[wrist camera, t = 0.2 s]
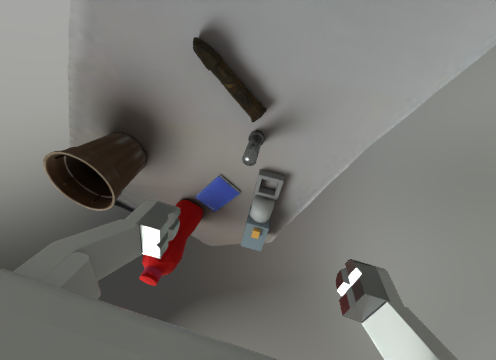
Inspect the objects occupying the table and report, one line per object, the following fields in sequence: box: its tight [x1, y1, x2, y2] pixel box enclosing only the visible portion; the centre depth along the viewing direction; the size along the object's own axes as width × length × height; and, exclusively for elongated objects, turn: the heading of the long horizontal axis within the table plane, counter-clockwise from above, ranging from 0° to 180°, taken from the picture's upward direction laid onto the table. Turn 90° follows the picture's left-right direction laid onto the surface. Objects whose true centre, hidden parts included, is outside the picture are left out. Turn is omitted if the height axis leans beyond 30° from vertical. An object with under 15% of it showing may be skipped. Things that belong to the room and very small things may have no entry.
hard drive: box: [195, 174, 240, 212], centre depth 61 cm, size 2×8×12 cm
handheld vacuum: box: [241, 170, 284, 251], centre depth 57 cm, size 25×7×8 cm, turn 170°
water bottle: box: [140, 200, 203, 286], centre depth 58 cm, size 9×11×25 cm
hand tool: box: [193, 37, 266, 122], centre depth 40 cm, size 19×4×5 cm, turn 40°
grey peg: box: [242, 130, 264, 166], centre depth 44 cm, size 4×4×11 cm
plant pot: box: [43, 132, 146, 211], centre depth 51 cm, size 16×16×16 cm
